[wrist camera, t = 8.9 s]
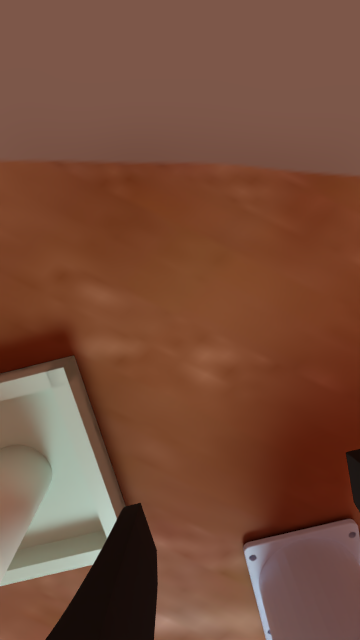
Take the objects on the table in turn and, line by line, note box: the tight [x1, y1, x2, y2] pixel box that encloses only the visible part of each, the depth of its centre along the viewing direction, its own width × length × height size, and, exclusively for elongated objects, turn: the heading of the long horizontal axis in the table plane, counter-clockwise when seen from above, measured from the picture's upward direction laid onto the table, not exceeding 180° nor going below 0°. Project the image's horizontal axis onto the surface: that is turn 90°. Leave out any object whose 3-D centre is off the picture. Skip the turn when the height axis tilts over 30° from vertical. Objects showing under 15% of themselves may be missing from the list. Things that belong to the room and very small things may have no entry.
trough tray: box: [0, 355, 126, 586], centre depth 20 cm, size 13×11×2 cm
